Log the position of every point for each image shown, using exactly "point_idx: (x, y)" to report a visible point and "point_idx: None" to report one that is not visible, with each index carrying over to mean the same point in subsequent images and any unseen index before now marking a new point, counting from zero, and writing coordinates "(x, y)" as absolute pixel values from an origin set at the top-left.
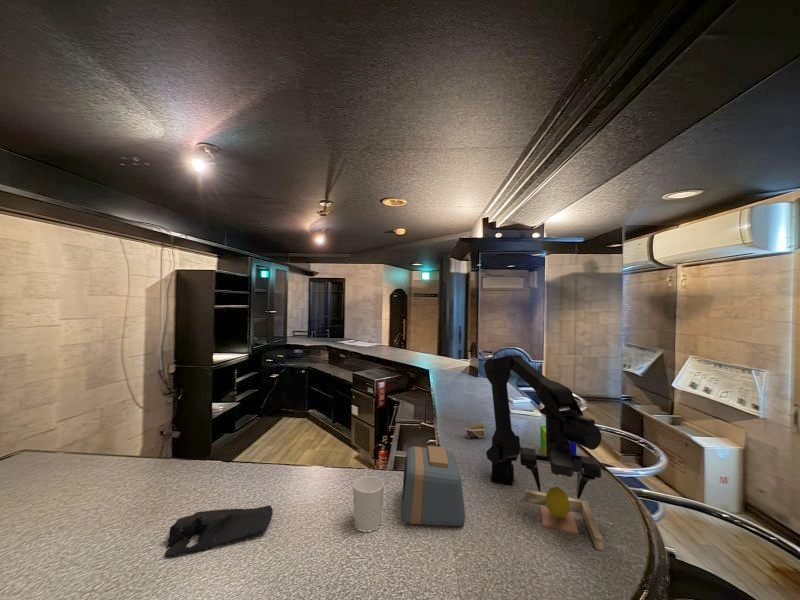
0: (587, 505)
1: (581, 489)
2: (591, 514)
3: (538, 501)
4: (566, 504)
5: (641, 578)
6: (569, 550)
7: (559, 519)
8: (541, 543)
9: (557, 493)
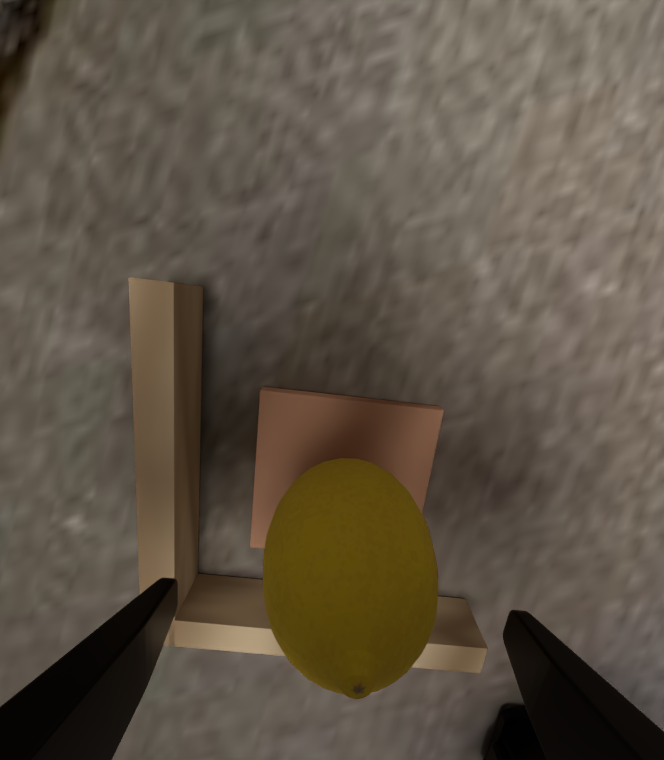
0: None
1: (47, 688)
2: (141, 522)
3: None
4: (295, 513)
5: (18, 93)
6: (350, 235)
7: None
8: (493, 256)
9: (369, 598)
